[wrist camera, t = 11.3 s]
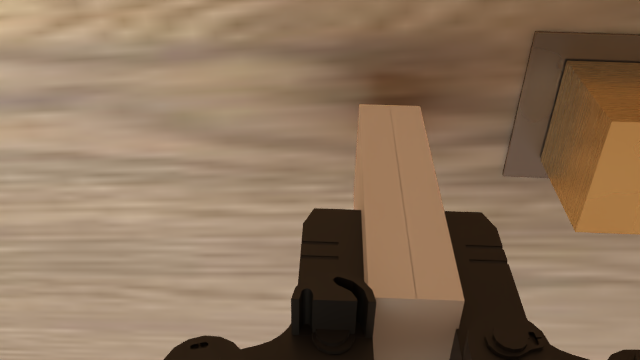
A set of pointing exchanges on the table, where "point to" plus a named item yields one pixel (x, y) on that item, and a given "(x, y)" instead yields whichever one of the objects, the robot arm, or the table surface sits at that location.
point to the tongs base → (555, 89)
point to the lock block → (597, 146)
